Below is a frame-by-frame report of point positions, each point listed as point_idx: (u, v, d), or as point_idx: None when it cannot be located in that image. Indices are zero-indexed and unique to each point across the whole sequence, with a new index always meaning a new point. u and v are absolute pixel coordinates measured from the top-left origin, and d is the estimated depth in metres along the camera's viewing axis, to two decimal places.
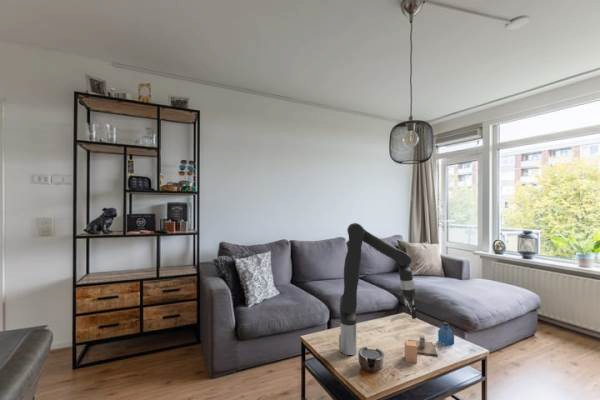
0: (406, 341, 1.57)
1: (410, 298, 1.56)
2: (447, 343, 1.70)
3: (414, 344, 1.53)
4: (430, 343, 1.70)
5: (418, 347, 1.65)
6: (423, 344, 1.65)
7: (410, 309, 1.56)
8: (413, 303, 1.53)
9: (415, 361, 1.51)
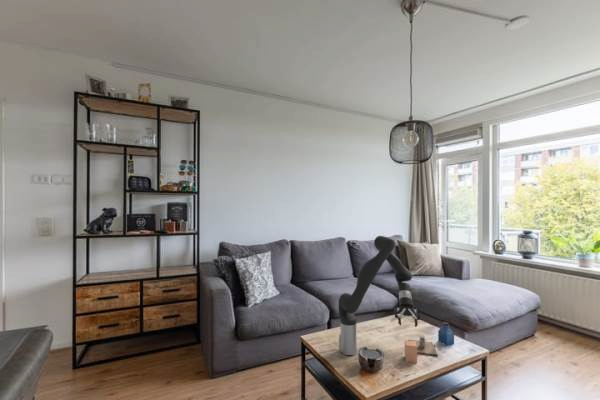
0: (406, 341, 1.57)
1: (412, 307, 1.70)
2: (447, 343, 1.70)
3: (414, 344, 1.53)
4: (430, 343, 1.70)
5: (418, 347, 1.65)
6: (423, 344, 1.65)
7: (414, 317, 1.65)
8: (418, 311, 1.69)
9: (415, 361, 1.51)
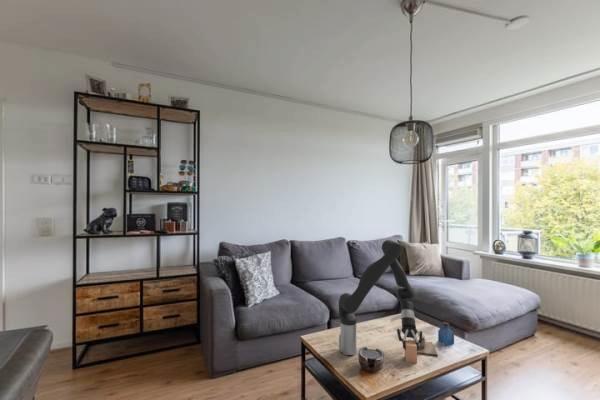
0: (406, 341, 1.57)
1: (415, 328, 1.60)
2: (447, 343, 1.70)
3: (414, 344, 1.53)
4: (430, 343, 1.70)
5: None
6: (423, 344, 1.65)
7: (415, 339, 1.55)
8: None
9: (415, 361, 1.51)
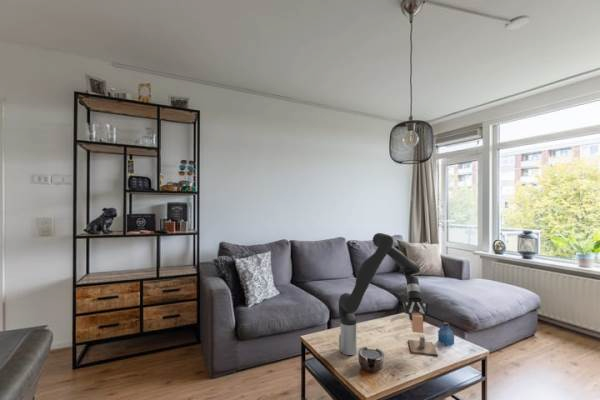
0: (412, 313, 1.63)
1: (421, 301, 1.65)
2: (447, 343, 1.70)
3: (420, 315, 1.59)
4: (430, 343, 1.70)
5: (418, 347, 1.65)
6: (423, 344, 1.65)
7: (421, 311, 1.60)
8: (427, 306, 1.63)
9: (421, 331, 1.57)
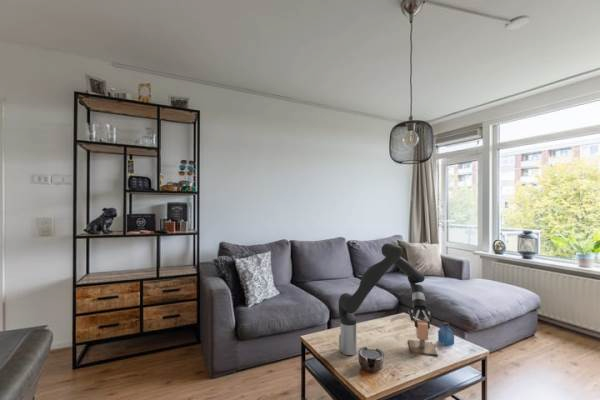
0: (417, 320, 1.69)
1: (426, 309, 1.72)
2: (447, 343, 1.70)
3: (425, 323, 1.65)
4: (430, 343, 1.70)
5: (418, 347, 1.65)
6: (423, 344, 1.65)
7: (426, 319, 1.67)
8: None
9: (426, 338, 1.63)
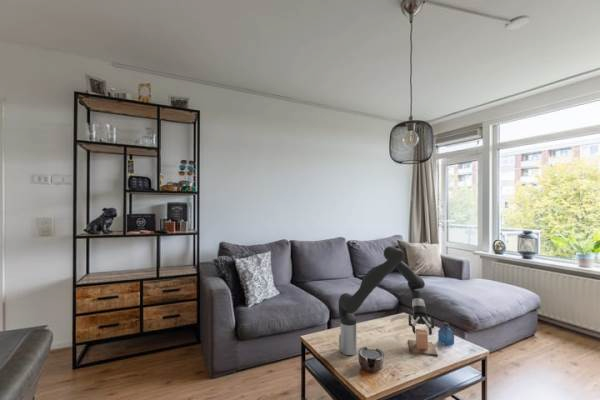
0: (417, 329, 1.69)
1: (426, 316, 1.71)
2: (447, 343, 1.70)
3: (425, 332, 1.65)
4: (430, 343, 1.70)
5: None
6: None
7: (428, 325, 1.67)
8: None
9: (426, 348, 1.63)
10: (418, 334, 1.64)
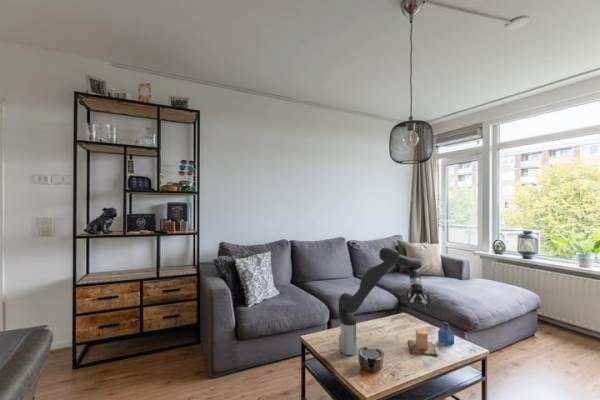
0: (417, 329, 1.69)
1: None
2: (447, 343, 1.70)
3: (425, 332, 1.65)
4: (430, 343, 1.70)
5: None
6: None
7: (424, 301, 1.78)
8: None
9: (426, 348, 1.63)
10: (418, 334, 1.64)
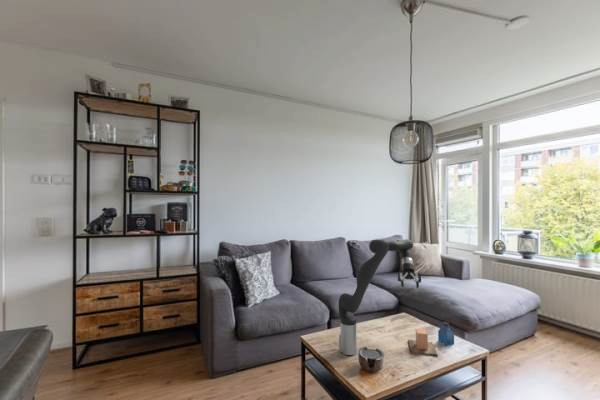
0: (417, 329, 1.69)
1: (414, 272, 1.85)
2: (447, 343, 1.70)
3: (425, 332, 1.65)
4: (430, 343, 1.70)
5: None
6: None
7: (416, 279, 1.80)
8: (419, 275, 1.83)
9: (426, 348, 1.63)
10: (418, 334, 1.64)
